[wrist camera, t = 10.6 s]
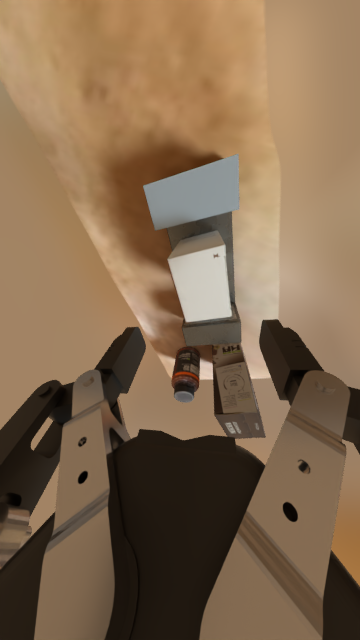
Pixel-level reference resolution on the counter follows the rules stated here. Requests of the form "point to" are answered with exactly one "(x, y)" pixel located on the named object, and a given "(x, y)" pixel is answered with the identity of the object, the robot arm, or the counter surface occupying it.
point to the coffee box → (234, 393)
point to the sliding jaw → (194, 194)
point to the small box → (201, 277)
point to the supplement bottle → (186, 374)
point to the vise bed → (228, 326)
